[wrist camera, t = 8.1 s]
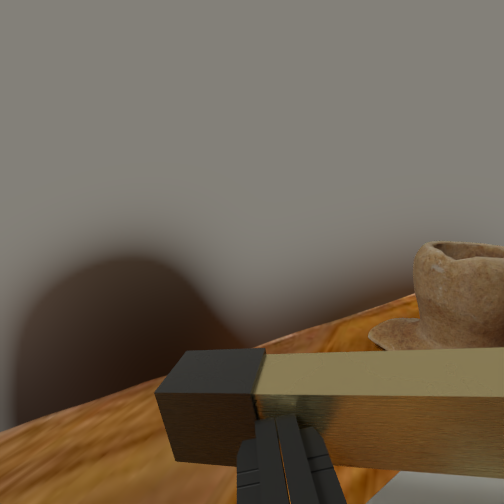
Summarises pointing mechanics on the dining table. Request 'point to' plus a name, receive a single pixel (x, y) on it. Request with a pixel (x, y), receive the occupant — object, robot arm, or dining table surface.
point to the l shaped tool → (345, 406)
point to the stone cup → (451, 300)
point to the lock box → (439, 489)
